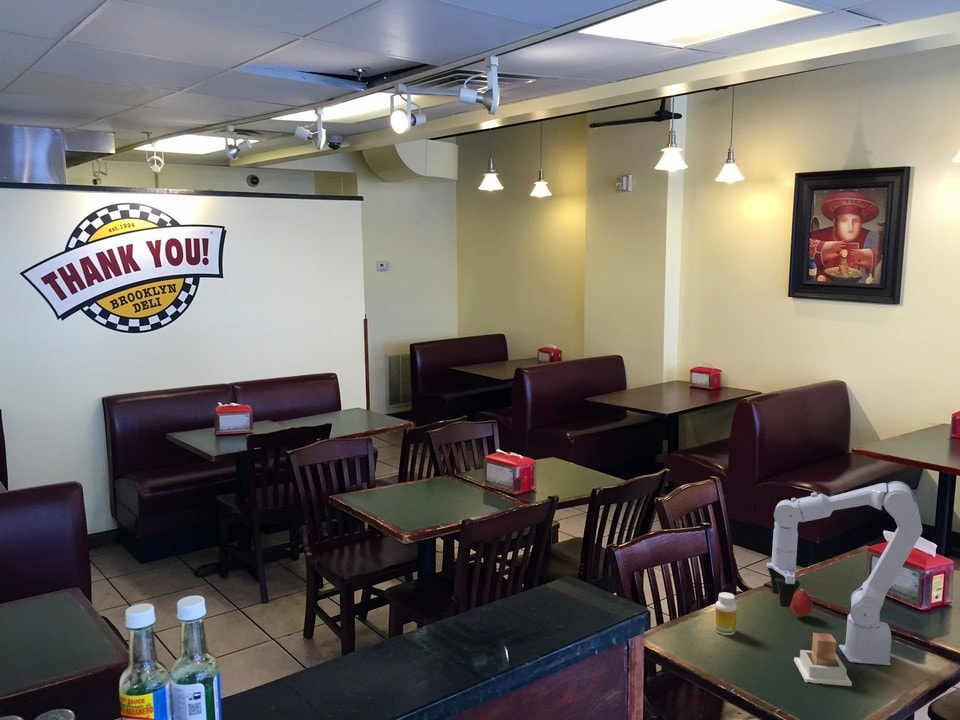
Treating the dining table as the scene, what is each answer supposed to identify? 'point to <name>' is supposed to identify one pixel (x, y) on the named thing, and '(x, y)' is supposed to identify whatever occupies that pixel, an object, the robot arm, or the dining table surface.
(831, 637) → the peg
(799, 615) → the onion
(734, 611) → the supplement bottle
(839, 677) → the socket
